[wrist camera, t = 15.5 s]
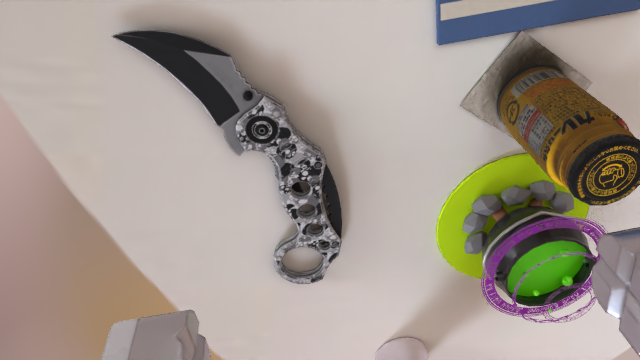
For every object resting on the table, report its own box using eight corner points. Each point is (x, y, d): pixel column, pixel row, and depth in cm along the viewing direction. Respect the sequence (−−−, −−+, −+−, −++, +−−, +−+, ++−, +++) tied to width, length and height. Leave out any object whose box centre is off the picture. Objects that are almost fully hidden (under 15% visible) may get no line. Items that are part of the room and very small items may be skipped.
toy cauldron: (601, 142, 47) (686, 215, 38) (574, 265, 55) (638, 350, 46) (437, 165, 47) (483, 245, 37) (434, 287, 55) (471, 377, 46)
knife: (108, 39, 36) (237, -20, 35) (114, 31, 38) (239, -25, 36) (279, 296, 52) (374, 264, 50) (279, 284, 53) (372, 253, 51)
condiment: (529, 148, 47) (605, 231, 37) (459, 104, 44) (521, 182, 34) (590, 81, 44) (691, 152, 34) (520, 29, 41) (608, 90, 31)
